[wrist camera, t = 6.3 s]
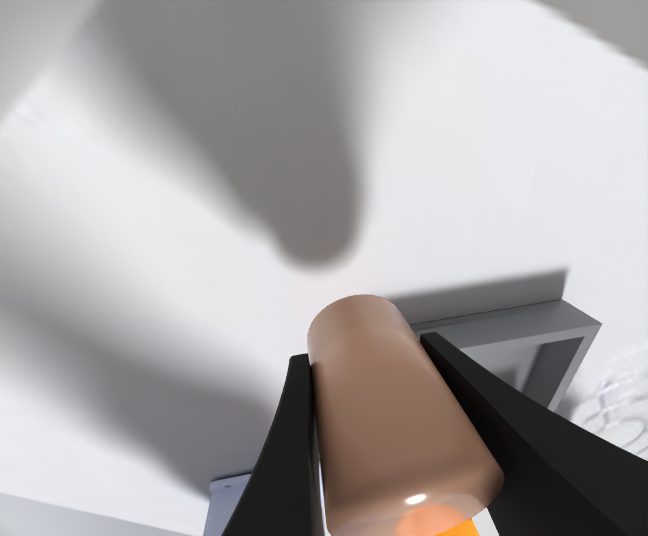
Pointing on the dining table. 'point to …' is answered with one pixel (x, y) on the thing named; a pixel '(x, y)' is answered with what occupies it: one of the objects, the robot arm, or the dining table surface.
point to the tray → (524, 345)
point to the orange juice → (461, 530)
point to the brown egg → (390, 428)
